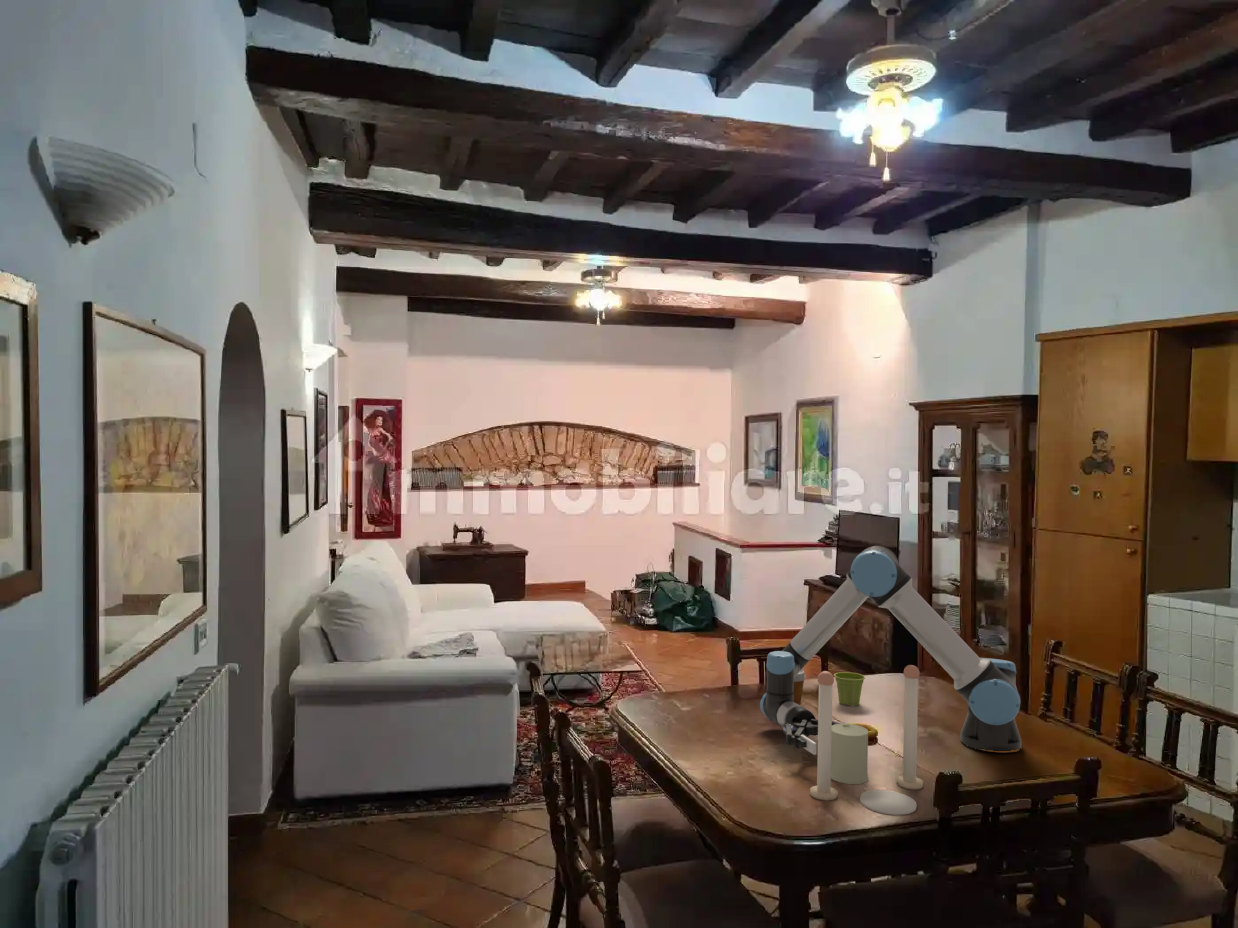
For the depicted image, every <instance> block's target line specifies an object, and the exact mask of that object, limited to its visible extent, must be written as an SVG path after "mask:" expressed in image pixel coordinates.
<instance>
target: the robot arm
mask: <svg viewBox="0 0 1238 928" xmlns="http://www.w3.org/2000/svg"><path fill="white" fill-rule="evenodd" d="M868 599H870V600H871V601H872V602H873V603H874V604H875V605H876V607H878V608H883V609H887V610H889V612H891V614H892V615H893V616H894V617H895V618H896V619H897V620H898V621H899V622H900V623H901V625H903V626H904V628H905V629H906V630H907V631H908V632H909V633H910V634H911V635H912V636H913V637H914V639H916V641H918V643H919V644H920V645H921V646H922V647H923V648H924V649H925V650H926V652H928V653H929V654H930V655H931V657H932V658H934V660H935V661H936V662H937V663H938V664H939V665H940V666H941V667H942V668H943V669H944V671H946V673H948V675H949V676H950V677H951V678H952V679H953V683H954V684H953V689H954V690H955V691H956V692H957V693H958V694H959V695H960V696H961V697H962V698H963V700H964V701H965V702H966V703H967V714H966V717H965V719H964V722H963V725H962V727H961V729H960V734H959V735H960V736H959V737H960V738H959V739H960V740H961V741H960V742H961V743H962V742H963V743H964V744H966V745H968V746H969V747H968V746H967V747H968V748H970V747H972V748H971V749H973V748H976V749H985V750H993V751H1011V750H1016V749H1020V748H1021V749H1022V737H1021V735H1020V731H1019V729H1018V725H1017V721H1016V719H1015V718H1016V717H1017V715H1018V714H1019V712H1020V707H1021V702H1022V701H1021V695H1020V693H1019V691H1018V688H1017V685H1016V682H1017V681H1016V675H1017V667H1016V664H1015V663H1014V662H1013V661H1010V660H1004V659H998V658H987V657H979V655H978V654H977V653H976V652H975V651H974V650H973V649H972V648H971V647H970V646H969V645H968V644H967V642H965V641H964V639H962V637H960V635H959V634H958V633H957V632H956V631H955V630H954V629H953V628H952V627H951V626H950V625H949V623H947V622H946V620H944V619H943V618H942V616H940V615H939V614H938V612H937V611H936V610H935V609H934V608H933V607H932V606H931V605H930V604H929V603H928V602H927V601H926V600H925V599H924V597H922V596H921V595H920V593H918V591H917V590H916V589H915V588H914V587H913V578H912V577H911V575H909V574H908V572H907V571H905V570H904V568H903V567H902V566H901V565H900V563H899V559H898V558H897V556H896V554H895V553H894V552H893V551H892V550H891V549H889V548H887V547H885V546H881V545H873V546H869V547H867V548H865V549H863V550H862V551H861V552H860V553H859V554H857V556H856V557H855V558H854V559H853V561H852V563H851V566H850V570H849V571H847V573H846V580H845V581H844V582H842V584H841V585H840V586H839V587H838V589H837V590H836V591H834V593H833V594H832V595H831V596H830V598H828V600H826V602H825V603H824V604H823V605H822V606H821V607H820V608H819V610H817V612H816V613H815V614H814V615H813V616H812V617H811V618H809V621H808V622H806V624H805V625H804V626H803V627H802V628H801V629H800V630H799V631H798V633H797V634H796V635H794V637H793V638H792V639H790V642H789V643H788V644H787V645H786V646H785V647H784V648H783V649H782V650H774V651H770V652H769V653H768V654H767V658H766V659H767V660H766V664H765V667H766V691H765V693H764V694H763V696H762V697H761V699H760V702H759V707H760V711H761V714H763V715H764V716H765V717H766V718H767V719H768V720H769V721H771V722H773V723H775V724H778V725H779V726H780V727H781V728H782V729H783V731H782V733H783V734H784V735H785V741H786V745H788V746H790V745H792V744H794V748H795V749H799V748H803V749H805V751H807V752H809V753H810V754H812V755H813V756H815V755H817V742H815V741H814V740H812V739H810V738H809V737H810V736H818V719H817V718H816V717H815V715H814V714H813V712H811V711H810V710H809V709H807V708H805V707H804V706H802V705H801V704H800V705H798V704H796V703H795V702H793V698H794V678H795V677H796V675H797V674H798V673H799V672H800V670H803V668H804V667H806V665H807V664H808V663H809V662H810V660H812V658H813V657H814V656H815V655H816V654H817V653H818V652H819V651H820V650H821V648H822V647H824V645H825V644H826V643H827V642H828V641H829V640H830V639H831V638H832V637H833V636H834V635H835V634H836V632H838V630H839V629H840V628H842V627H843V625H844V623H846V622H847V621H848V619H849V618H851V616H852V615H853V614H854V613H855V612H856V611H857V610H858V609H859V607H861V606H862V605H863V604H864V602H865V601H866V600H868ZM834 724H842V723H841V722H837V721H833V720H832V725H834ZM963 743H962V744H963ZM964 744H963V745H964ZM966 745H965V746H966ZM976 749H975V750H976Z"/></svg>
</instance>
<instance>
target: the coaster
mask: <svg viewBox="0 0 1238 928" xmlns="http://www.w3.org/2000/svg"><path fill="white" fill-rule="evenodd" d="M859 802H860V803H861V805H862V806H863V807H865V808H867V809H868V810H871V811H873V812H876V813H880V814H884V815H891V816H903V815H910V814H912V813H914V812H916V811H917V802H916V801H915V799H913V798H912V797H910V796H908V795H906V794H904V793H901V792H897V791H892V790H885V789H884V790H883V789H873V790H867V791H865V792H863V793H861V795H860V797H859Z"/></svg>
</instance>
